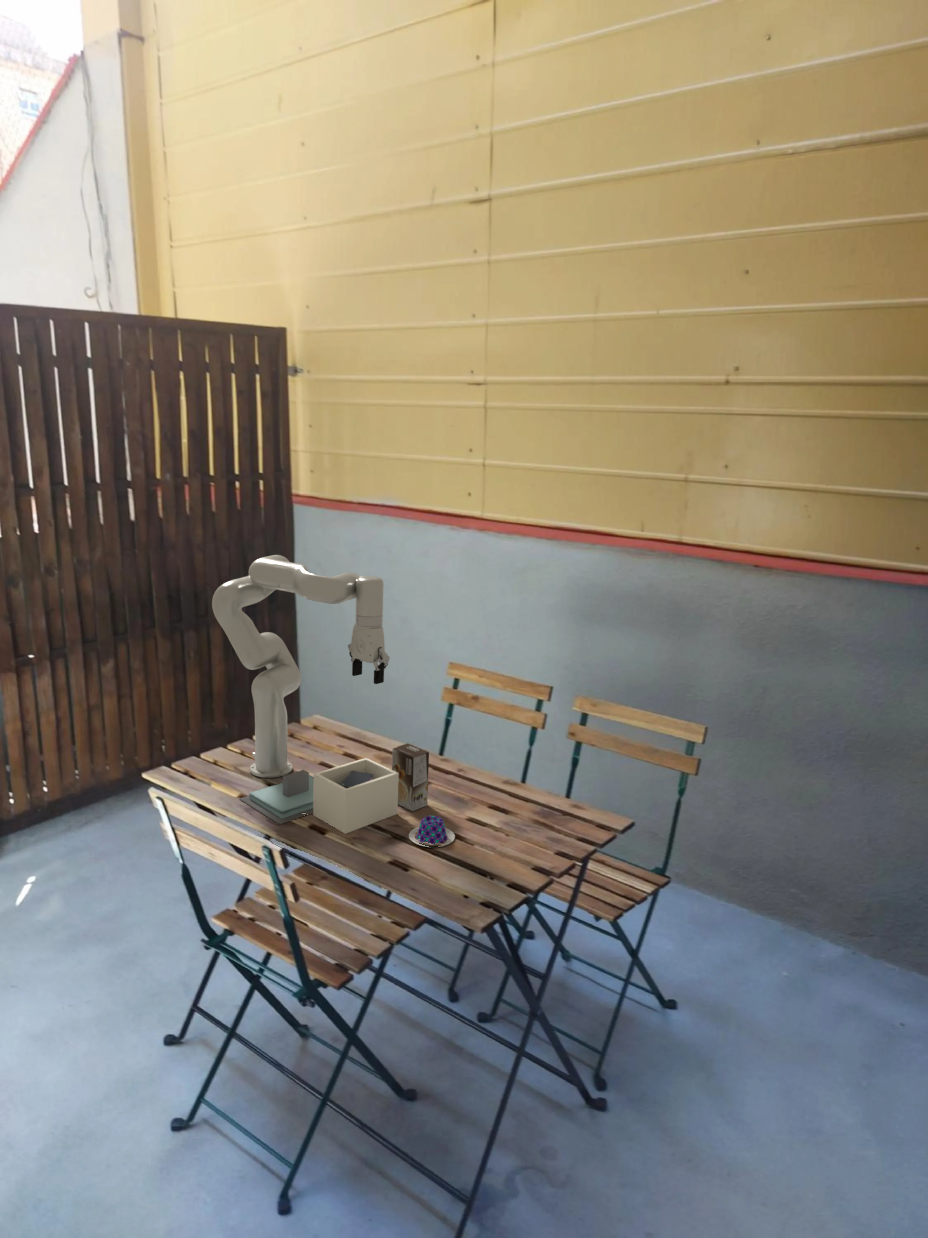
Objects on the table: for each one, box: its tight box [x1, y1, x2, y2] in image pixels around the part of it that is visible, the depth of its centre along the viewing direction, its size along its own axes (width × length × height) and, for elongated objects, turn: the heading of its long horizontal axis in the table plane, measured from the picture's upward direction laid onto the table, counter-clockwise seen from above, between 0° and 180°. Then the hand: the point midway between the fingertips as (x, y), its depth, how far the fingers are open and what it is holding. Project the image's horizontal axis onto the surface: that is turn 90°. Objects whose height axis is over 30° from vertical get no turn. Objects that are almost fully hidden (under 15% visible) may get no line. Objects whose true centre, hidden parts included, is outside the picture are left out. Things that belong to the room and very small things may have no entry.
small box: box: [340, 771, 373, 789], centre depth 225 cm, size 11×6×10 cm, turn 168°
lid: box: [248, 769, 314, 819], centre depth 233 cm, size 16×20×7 cm
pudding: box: [408, 815, 456, 848], centre depth 215 cm, size 12×12×5 cm
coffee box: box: [391, 743, 430, 812], centre depth 233 cm, size 9×6×16 cm
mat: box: [239, 795, 313, 826], centre depth 234 cm, size 20×24×1 cm
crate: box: [312, 757, 399, 835], centre depth 225 cm, size 14×18×12 cm
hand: (367, 679), depth 236 cm, fingers open, 9 cm apart
